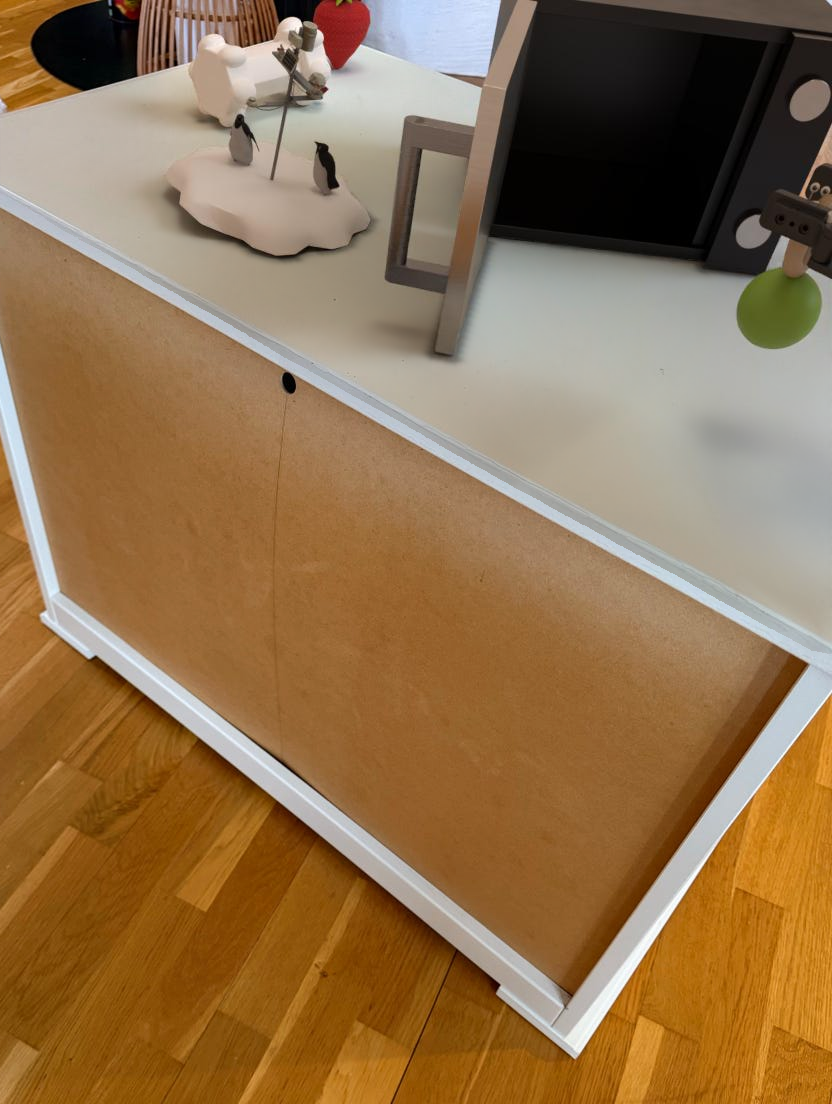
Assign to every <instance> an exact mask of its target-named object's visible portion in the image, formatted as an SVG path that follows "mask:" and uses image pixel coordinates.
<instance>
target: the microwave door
mask: <svg viewBox="0 0 832 1104" xmlns="http://www.w3.org/2000/svg"><path fill="white" fill-rule="evenodd" d="M536 8H537V1H531V0H518V1H517V3H516V5H515V8H514V10H513V13H512V15H511V18H510V20H509V22H508V25H507V27H506V30H505V32H504V35H503V37H502V39H501V42H500V44H499V47H498V49H497V52H496V54H495V56H494V59H493V61H492V64H491V66H490V69H489V71H488V70H487V74H486V76H485V78H484V81H483V83H482V85H481V92H480V98H479V103H478V108H477V114H476V119H475V126H472V125H468V124H462V123H456V122H452V121H448V120H447V121H446V120H441V119H437V118H436V119H435V118H431V117H425V116H421V115H420V116H419V115H415V114H411V115H406V116H404V118H403V126H402V133H401V142H400V149H399V156H398V157H399V158H398V165H397V174H396V181H395V188H394V189H395V190H394V196H393V204H392V213H391V221H390V230H389V235H388V236H389V237H388V245H387V246H388V247H387V253H386V259H385V260H386V262H385V269H384V280H385V282H387V283H390V284H393V285H398V286H404V287H408V288H413V289H416V290H417V289H418V290H423V291H428V292H432V293H436V294H437V293H438V294H442V295H444V297H443V302H442V307H441V312H440V313H441V314H440V319H439V325H438V331H437V336H436V341H435V347H434V352H436V353H439V354H443V355H444V354H445V355H449V356H454V355H455V352H456V349H457V346H458V343H459V339H460V336H461V332H462V328H463V326H464V322H465V319H466V316H467V312H468V309H469V305H470V303H471V298H472V295H473V292H474V289H475V285H476V282H477V279H478V275H479V271H480V269H481V266H482V262H483V258H484V256H485V252H486V248H487V245H488V242H489V238H490V236H489V233H490V228H491V224H492V219H493V214H494V209H495V204H496V200H497V195H498V190H499V185H500V180H501V176H502V171H503V166H504V161H505V156H506V152H507V147H508V142H509V137H510V132H511V128H512V123H513V118H514V113H515V108H516V104H517V99H518V94H519V89H520V84H521V80H522V75H523V70H524V65H525V60H526V56H527V51H528V46H529V41H530V36H531V32H532V27H533V22H534V17H535V12H536ZM423 150H424V151H428V152H429V151H430V152H433V153H441V154H445V155H451V156H456V157H459V158H460V157H461V158H466V159H468V164H467V169H466V175H465V181H464V186H463V192H462V195H461V196H462V197H461V203H460V208H459V212H458V213H459V214H458V219H457V225H456V232H455V234H454V235H455V236H454V241H453V246H452V253H451V258H450V263H449V265H445V264H440V263H436V262H430V261H425V260H420V259H415V258H410V257H408V254H409V248H410V240H411V233H412V225H413V220H414V213H415V204H416V198H417V193H418V192H417V191H418V183H419V177H420V170H421V164H422V157H423V156H422V155H423Z"/></svg>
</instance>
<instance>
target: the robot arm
mask: <svg viewBox="0 0 832 1104" xmlns="http://www.w3.org/2000/svg"><path fill="white" fill-rule="evenodd" d="M813 183H819V185H820V188H819V190H818V191H817V192H814V193H813V194H812V196H811V199H810V200H809V198H810V195H811V193H812V192H811V190H810V186H811V185H812V184H813ZM825 186H828V187H829V188H830V193H829V194H832V163H829V162H823V163H822V164H820V165H818V166H817V167H815V169H814V170H813V172H812V174H811V177H810V179H809V181H808V184H807V186H806V188H805V191H804V197H803V196H801V195H799V196H798V195H795V194H793V193H790V192H788V191H785V190H782V189H779V190H777V191H775V192H773V193H772V194H770V195H769V197H768V199H767V201H766V204H765V206H764V208H763V211H762V213H761V216H760V218H759V223H760V225H761V227H763V228H765V229H767V230H770V231H772V232H774V233H777V234H779V235H781V237H784V238H787V239H791V240H794V241H796V242H799V243H801V244H803V245H806V246H808V247H812V248H811V250H810V254H811V256H810V258H809V261H808V263H807V266H808V267H809V269H810V270H812V271H814V272H816V273H818V274H820V275H822V276H824V277H827V278H829V279H830V280H832V211H831V210H832V209H831V208H829V207H826V206H824V205H821V204H818V203H816V202H813V201H818V200H819V199H821V198H822V195H821V194H820V191H821V189H822V188H823V187H825ZM829 194H828V195H829Z"/></svg>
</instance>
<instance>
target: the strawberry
mask: <svg viewBox="0 0 832 1104" xmlns="http://www.w3.org/2000/svg"><path fill="white" fill-rule="evenodd" d="M312 20H313V23H314V24H316V25H317V26H318V28H317V29H318V30H320V31H321V32H322V34H323V37H324V40H323V46H324V50H325V54H326V58H327V60H328V61H329V62H330V64H331V66H332V67H333V68H334V69H337V70H339V69H341V68H343V67H344V66H345V64H346V63H347V61H348V60H349V59H351V57H352V56H353V55H354V54H355V53H356V51H357V50H358V48H359V47H360V46H361V45H362V43H363V42H364V41H365V39H366V37H367V34H368V31H369V28H370V26H371V12H370V9H369V8H368V6H367V5H366V4H365V3H364V2H362V1H360V0H322V1H321V2H320V3H319V4H318V5H317V6H316V8H315V11H314V15H313V19H312Z"/></svg>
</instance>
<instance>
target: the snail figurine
mask: <svg viewBox="0 0 832 1104" xmlns="http://www.w3.org/2000/svg"><path fill="white" fill-rule="evenodd" d="M819 188H820V185H819V183H813V184H812V185H811V186H810V190H811V192H812V193H811V195H810V198H809V200H810V199H811V196H812V194H813V193H814V192H817V191H818V190H819ZM829 193H830V188H829V187H828V186H825V187H823V188H822V189H821V191H820V194H821V195H822V198H821V199H819V200H818V201H813V202H816V203H818V204H821V205H824V206H826V207H829V208H831V209H832V194H829ZM828 194H829V195H828ZM831 211H832V210H831ZM788 239H789V238H788ZM811 248H812V247H808V246H806V245H803V244H801V243H799V242H796V241H794V240H791V239H789V240H788V242H787V246H786V248H785V252H784V256H783V260H782V263H781V266H779V267H773V268H771V269H768V270H766V271H765V272H763V273H761V274H758V275H757V276H755V277H754V278H753V279H751V281H750V282H748V284H746V286H745V288H743V291H742V292H741V294H740V296H739V298H738V301H737V305H736V314H735V317H736V323H737V326H738V329H739V331H740V333H741V334H742V336H743V337H744V338H745V339H746V340H747V342H748V343H750V344H752V345H754V346H756V347H758V348H760V349H765V350H782V349H785V348H789V347H792V346H794V345H795V344H798V343H799V342H801V341H802V340H803V339H805V338H806V337H807V336H808V335H809V334H810V333H811V332H812V331H813V329H814V327H815V326H816V325H817V323H818V321H819V318H820V316H821V312H822V307H823V299H822V293H821V289H820V288H819V285H818V283H817V282H816V280H815V279H814V277H812V276H811V275H810V274H808V273H807V272H808V270H809V269H810V268H809V267H808V266H807V263H808V261H809V258H810V256H811V254H810V250H811Z"/></svg>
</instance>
